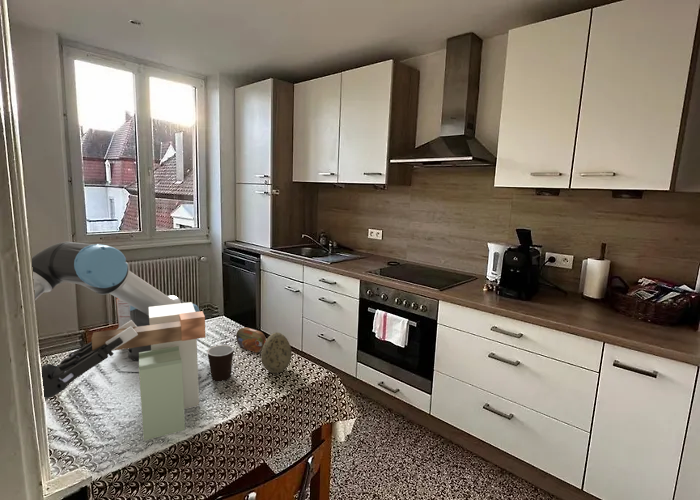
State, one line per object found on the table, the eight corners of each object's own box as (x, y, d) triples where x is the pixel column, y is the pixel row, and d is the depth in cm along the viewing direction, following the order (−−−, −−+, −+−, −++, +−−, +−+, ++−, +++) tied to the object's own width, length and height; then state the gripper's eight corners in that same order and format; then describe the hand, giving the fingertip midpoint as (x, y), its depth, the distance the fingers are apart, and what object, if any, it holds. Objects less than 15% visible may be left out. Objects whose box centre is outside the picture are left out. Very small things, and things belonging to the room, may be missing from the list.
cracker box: (135, 334, 166) (132, 288, 162) (149, 334, 166) (147, 288, 163) (119, 348, 152) (115, 298, 148) (134, 348, 153) (131, 298, 149)
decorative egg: (284, 381, 132) (284, 340, 129) (256, 376, 134) (255, 336, 132) (295, 366, 142) (296, 329, 140) (268, 362, 145) (268, 325, 142)
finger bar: (92, 354, 92) (90, 331, 91) (94, 346, 97) (92, 324, 96) (205, 337, 105) (204, 316, 104) (202, 330, 109) (202, 311, 108)
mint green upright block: (143, 440, 100) (138, 366, 96) (143, 421, 108) (138, 352, 104) (184, 430, 105) (181, 359, 101) (181, 412, 113) (178, 346, 109)
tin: (235, 345, 158) (235, 326, 157) (241, 343, 161) (241, 324, 160) (262, 355, 151) (261, 335, 149) (267, 352, 153) (267, 332, 152)
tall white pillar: (155, 415, 111) (149, 317, 105) (154, 398, 119) (148, 306, 114) (199, 405, 116) (195, 312, 111) (195, 389, 125) (191, 302, 119)
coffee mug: (226, 384, 128) (225, 357, 126) (203, 381, 130) (202, 354, 128) (242, 368, 139) (242, 343, 138) (221, 365, 141) (220, 340, 139)
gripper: (57, 380, 99) (143, 326, 107) (43, 416, 85) (143, 351, 92) (37, 359, 96) (126, 306, 104) (18, 393, 82) (124, 328, 89)
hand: (134, 327), depth 98 cm, fingers closed on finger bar, 4 cm apart
